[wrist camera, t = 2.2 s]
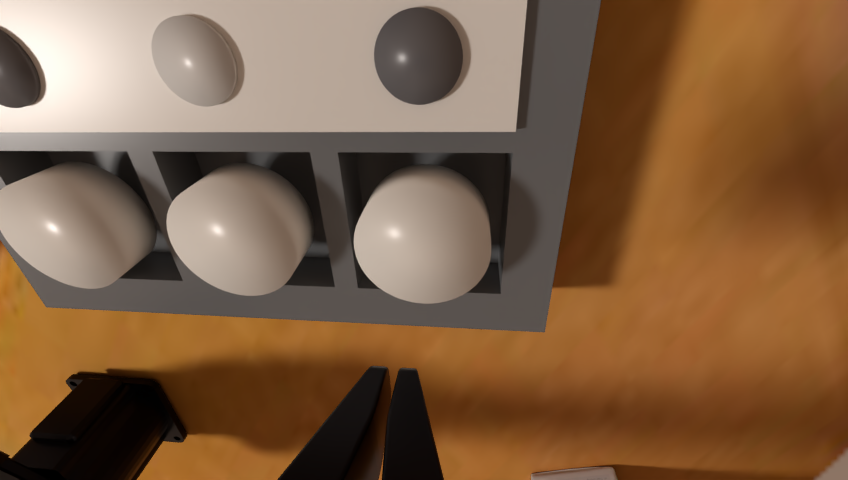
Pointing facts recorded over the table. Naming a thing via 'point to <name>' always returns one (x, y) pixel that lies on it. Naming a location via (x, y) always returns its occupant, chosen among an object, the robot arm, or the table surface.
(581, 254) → the table surface
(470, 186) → the button
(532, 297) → the board
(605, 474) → the syrup box
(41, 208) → the button
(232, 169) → the button
